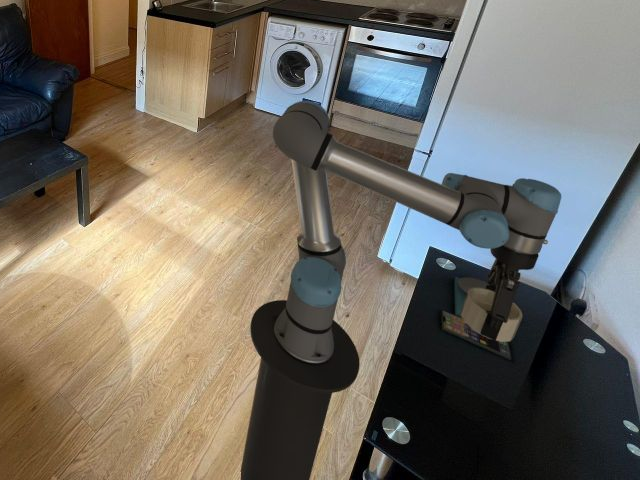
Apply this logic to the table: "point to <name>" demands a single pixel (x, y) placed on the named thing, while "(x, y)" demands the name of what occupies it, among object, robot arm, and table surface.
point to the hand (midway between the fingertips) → (487, 322)
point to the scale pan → (470, 284)
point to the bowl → (476, 313)
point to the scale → (458, 297)
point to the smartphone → (473, 335)
